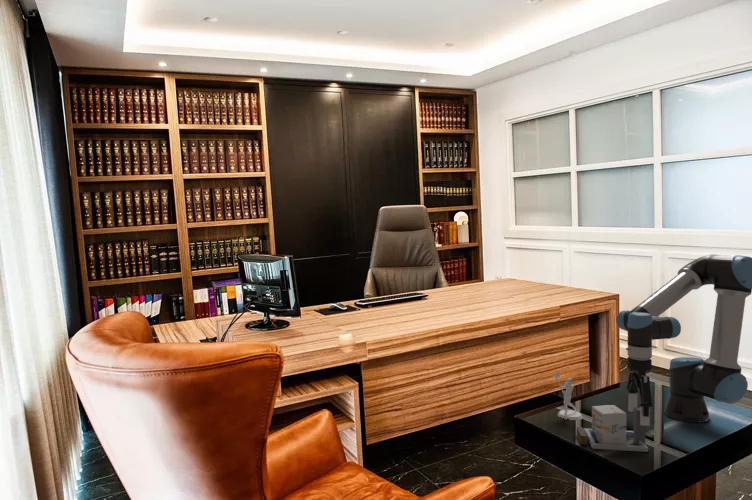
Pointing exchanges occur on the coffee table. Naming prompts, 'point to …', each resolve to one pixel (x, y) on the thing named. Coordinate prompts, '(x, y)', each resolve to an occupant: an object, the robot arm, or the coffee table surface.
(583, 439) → the lane end block
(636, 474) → the coffee table surface
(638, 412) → the sled
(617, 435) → the ink box
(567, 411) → the figurine
